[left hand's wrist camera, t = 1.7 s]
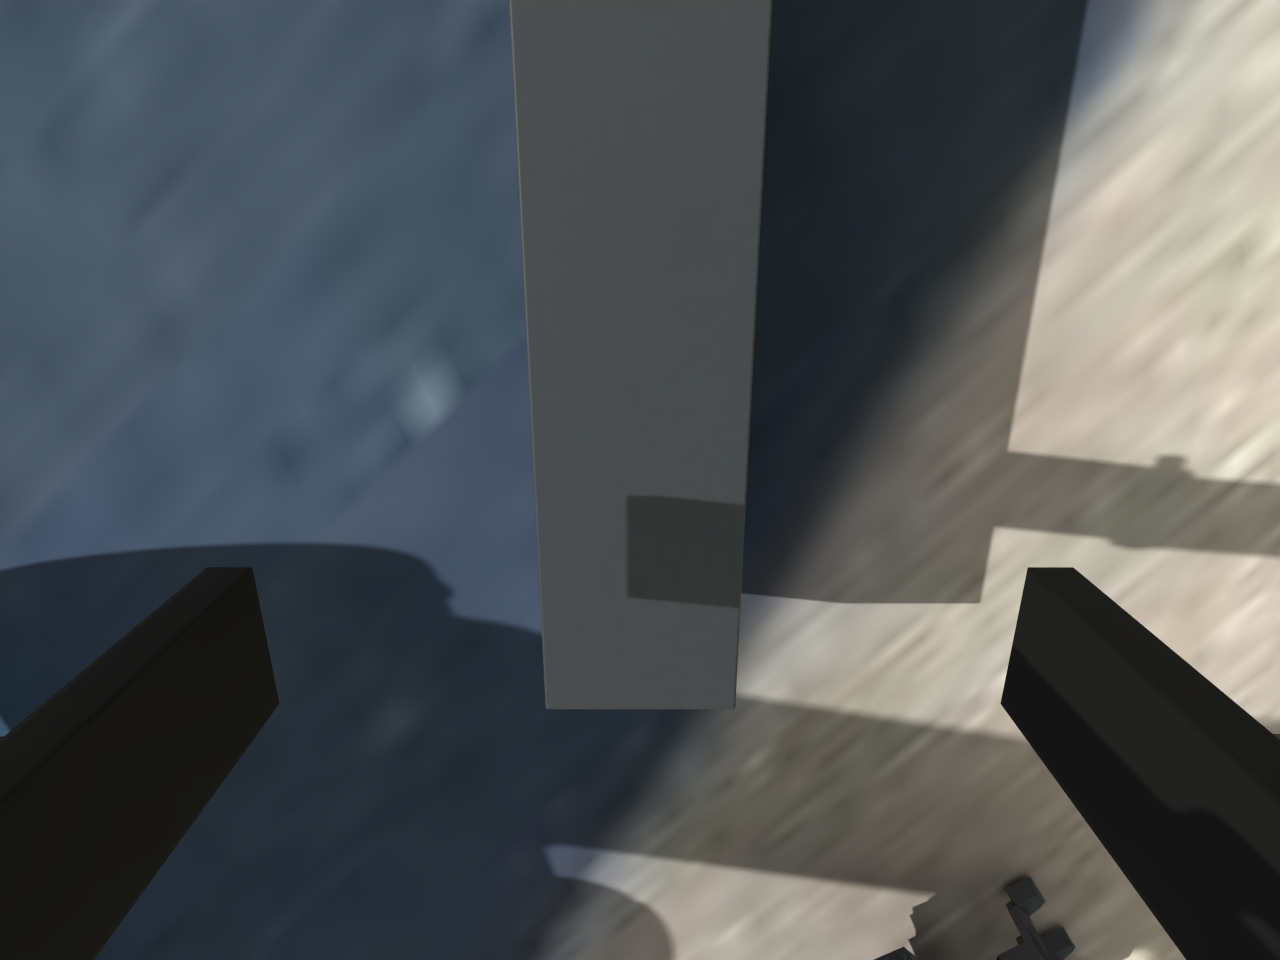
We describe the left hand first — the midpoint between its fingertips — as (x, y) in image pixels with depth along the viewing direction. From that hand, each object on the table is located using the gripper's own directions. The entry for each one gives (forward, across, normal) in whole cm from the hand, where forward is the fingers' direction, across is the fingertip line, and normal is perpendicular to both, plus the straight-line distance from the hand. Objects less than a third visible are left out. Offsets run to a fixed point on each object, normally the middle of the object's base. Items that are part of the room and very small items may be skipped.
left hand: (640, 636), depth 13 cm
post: (+13, 0, -35) cm, 38 cm away
